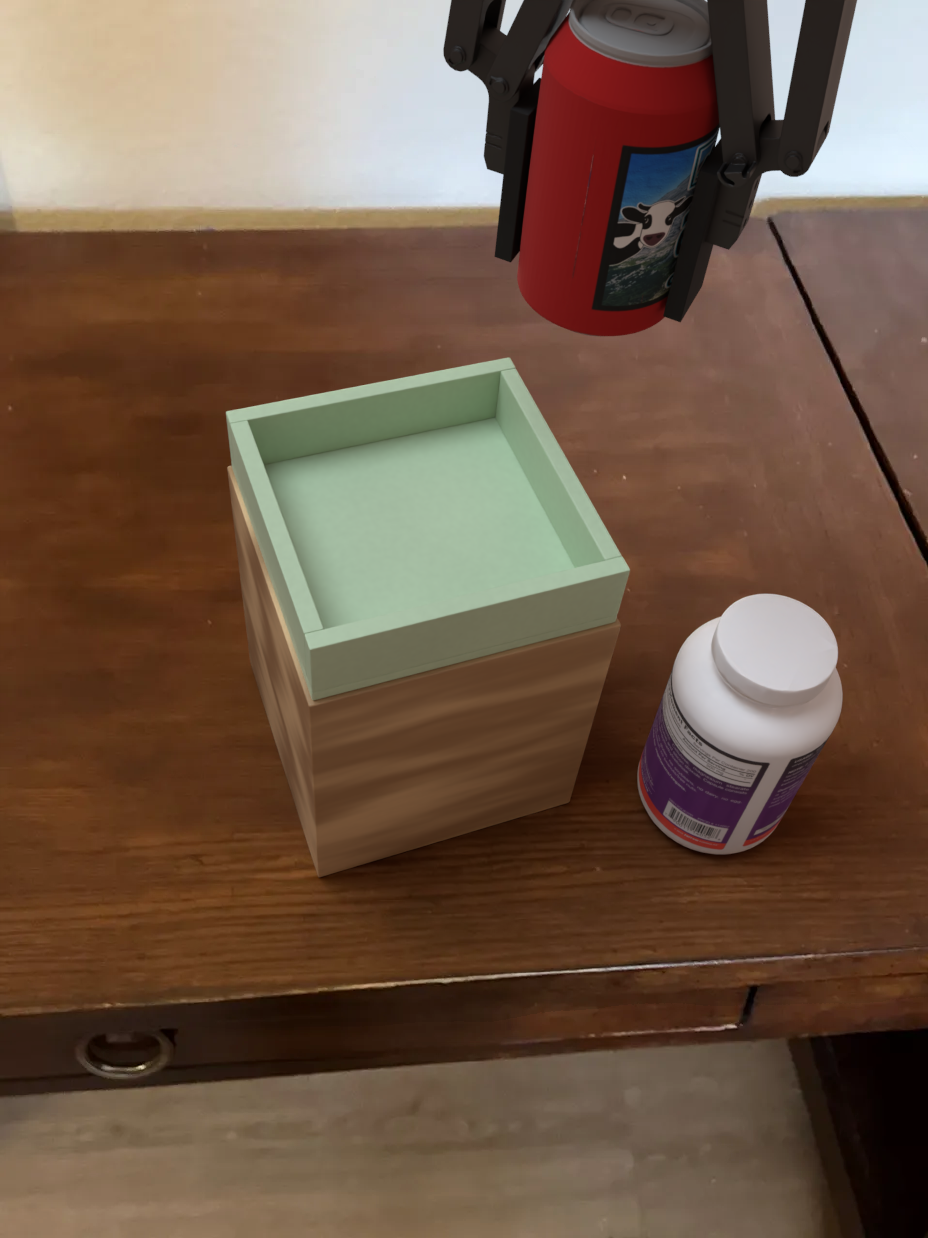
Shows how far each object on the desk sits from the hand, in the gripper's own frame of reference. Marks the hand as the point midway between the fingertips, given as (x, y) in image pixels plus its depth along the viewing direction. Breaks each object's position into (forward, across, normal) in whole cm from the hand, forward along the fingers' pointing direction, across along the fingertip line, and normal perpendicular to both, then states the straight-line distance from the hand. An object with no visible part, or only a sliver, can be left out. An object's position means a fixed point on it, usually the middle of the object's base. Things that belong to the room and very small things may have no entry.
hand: (598, 270), depth 50 cm
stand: (+27, +4, +8) cm, 28 cm away
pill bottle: (+27, -13, +4) cm, 30 cm away
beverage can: (+2, 0, 0) cm, 2 cm away
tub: (+11, +4, +8) cm, 14 cm away
